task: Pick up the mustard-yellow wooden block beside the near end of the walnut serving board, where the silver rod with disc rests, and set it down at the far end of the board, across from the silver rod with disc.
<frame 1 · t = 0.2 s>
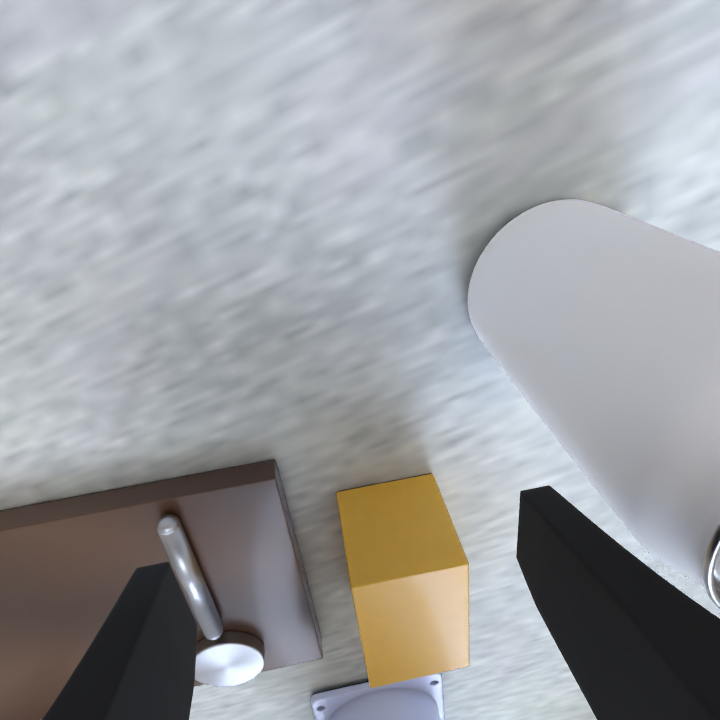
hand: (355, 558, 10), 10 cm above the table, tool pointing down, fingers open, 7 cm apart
can: (542, 281, 20), on the table
block: (390, 534, 25), on the table
board: (92, 602, 24), on the table
silver rod with disc: (211, 614, 24), resting on board
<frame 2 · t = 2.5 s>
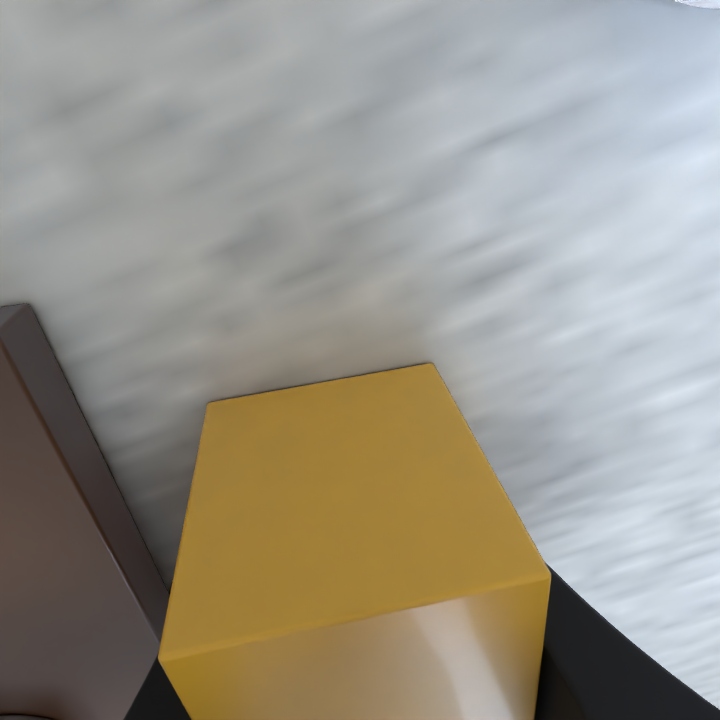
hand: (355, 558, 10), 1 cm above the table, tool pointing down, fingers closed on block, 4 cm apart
block: (344, 508, 12), on the table, touching gripper
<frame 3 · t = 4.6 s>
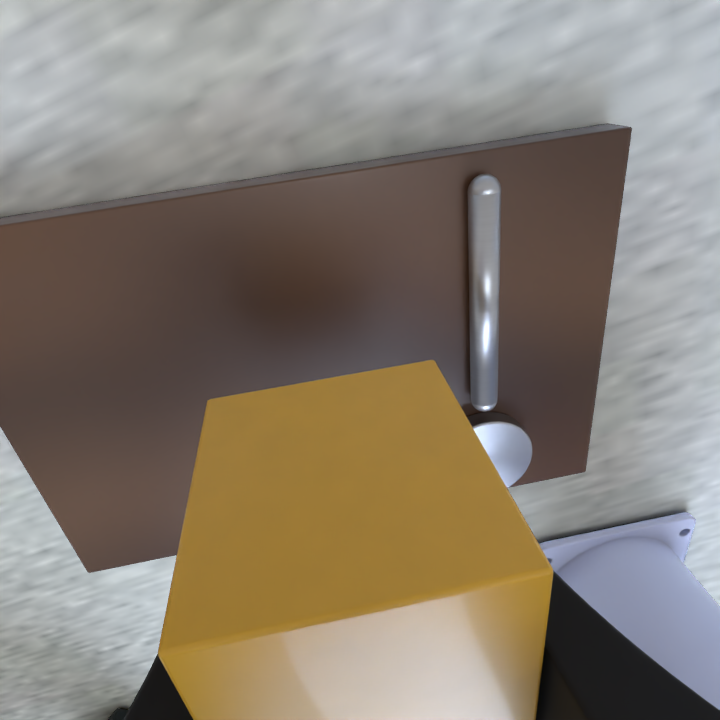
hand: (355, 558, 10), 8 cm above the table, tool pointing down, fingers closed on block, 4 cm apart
block: (345, 505, 12), point 7 cm above the table, touching gripper
board: (316, 366, 18), on the table
silver rod with disc: (479, 379, 18), resting on board
when the fingers open (3 cm above the table, at t = 7.0 s): block stays where it is, resting on board.
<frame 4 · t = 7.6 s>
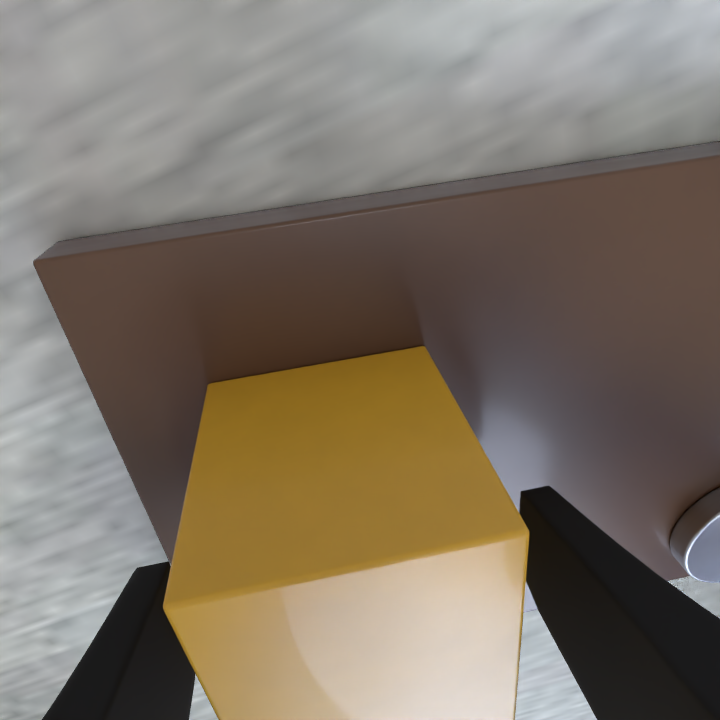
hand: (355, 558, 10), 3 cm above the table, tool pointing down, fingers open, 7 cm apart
block: (340, 488, 12), point 1 cm above the table, touching board
board: (540, 419, 14), on the table
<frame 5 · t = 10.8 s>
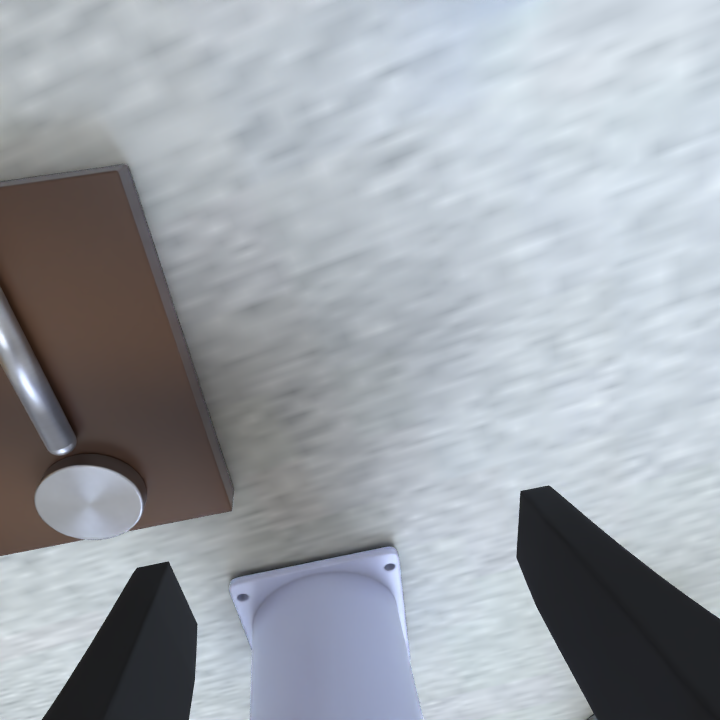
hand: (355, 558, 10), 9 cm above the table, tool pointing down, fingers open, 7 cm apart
silver rod with disc: (59, 422, 17), resting on board
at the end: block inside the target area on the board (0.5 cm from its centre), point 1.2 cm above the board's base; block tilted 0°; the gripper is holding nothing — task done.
